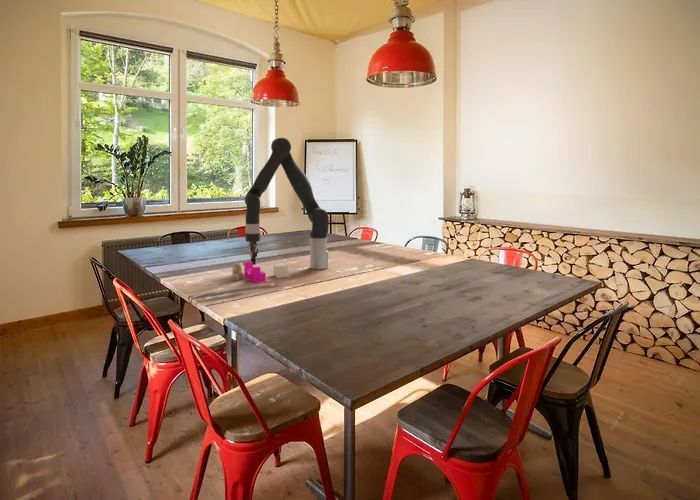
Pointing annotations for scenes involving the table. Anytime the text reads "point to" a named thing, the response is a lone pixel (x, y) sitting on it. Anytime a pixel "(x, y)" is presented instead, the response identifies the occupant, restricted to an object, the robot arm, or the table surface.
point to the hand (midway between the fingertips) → (253, 264)
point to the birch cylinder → (237, 271)
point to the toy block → (253, 273)
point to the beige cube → (280, 270)
